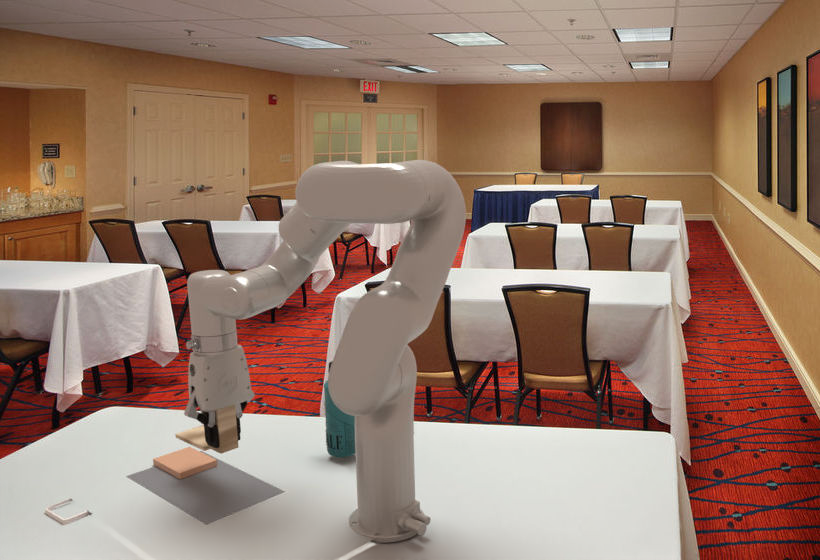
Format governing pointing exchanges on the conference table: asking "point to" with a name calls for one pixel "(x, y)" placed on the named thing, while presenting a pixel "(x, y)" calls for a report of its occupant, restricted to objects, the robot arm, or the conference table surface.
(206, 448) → the stepped wooden block
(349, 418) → the beverage bottle
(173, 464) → the tile
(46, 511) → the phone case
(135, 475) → the slate board
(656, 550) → the conference table surface
